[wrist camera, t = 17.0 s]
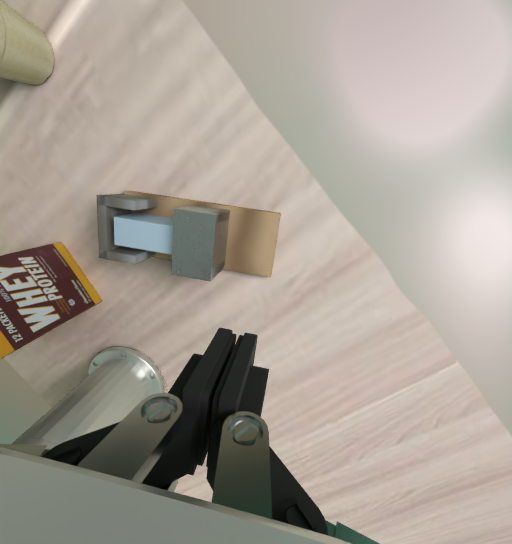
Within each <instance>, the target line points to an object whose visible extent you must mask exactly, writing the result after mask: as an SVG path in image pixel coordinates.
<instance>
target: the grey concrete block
mask: <svg viewBox="0 0 512 544" xmlns="http://www.w3.org/2000/svg"><path fill="white" fill-rule="evenodd" d="M229 216H230V210H225V209H218V208H211V207H205V206H198V205H191V206H185V207H180V208H174V219H173V245H172V270H171V274H172V275H178V276H183V277H189V278H194V279H200V280H206V281H211V280H212V279H213V278H214V277H215V276H216V275H217V274H218V273H219V272H220V271H221V270H222V269H223V268H224V266H225V256H226V246H227V236H228V226H229Z"/></svg>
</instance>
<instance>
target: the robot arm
mask: <svg viewBox="0 0 512 544" xmlns="http://www.w3.org/2000/svg"><path fill="white" fill-rule="evenodd" d="M235 342H236V334H232V330H229V329H224V328H219V329H218V331H217V333H216V334H215V336H214V338H213V339H212V341H211V343H210V345H209V346H208V348H207V350H206V351H205V353H204V355H199V354H193V356H192V357H191V358H190V360H189V361H188V363H187V365H186V366H185V368H184V369H183V371H182V372H181V374H180V375H179V377H178V378H177V380H176V381H175V383H174V384H173V386H172V388H171V389H170V391H169V392H168V393H163V389H164V386H163V380H162V377H161V375H160V373H159V371H158V369H157V368H156V366H155V365H154V364H153V363H152V362H151V361H150V360H149V359H148V358H147V357H146V356H144V355H143V354H141V353H140V352H137V351H135V350H133V349H130V348H126V347H111V348H108V349H105V350H103V351H102V352H100V353H99V354H98V355H97V356H95V357H94V358H93V360H92V361H91V363H90V366H89V370H88V377H87V378H85V379H84V380H83V381H82V382H81V383H80V384H79V385H77V386H76V387H75V388H74V389H73V390H72V391H71V392H70V393H68V394H67V395H66V396H65V397H64V398H63V399H62V400H61V401H59V402H58V403H57V404H56V405H55V406H54V407H53V408H52V409H51V410H49V411H48V412H47V413H46V414H45V415H44V416H43V417H41V418H40V419H39V420H38V421H37V422H36V423H35V424H34V425H32V426H31V427H30V428H29V429H28V430H27V431H26V432H24V433H23V434H22V435H21V436H20V437H19V438H18V439H16V441H14V442H13V443H12V444H0V544H379V543H378V542H376V541H374V540H372V539H370V538H368V537H366V536H364V535H362V534H360V533H359V532H357V531H355V530H353V529H351V528H349V527H347V526H345V525H343V524H341V523H339V522H338V521H337V523H336V525H334V524H332V523H330V522H328V521H326V520H325V519H324V516H323V515H322V513H321V512H320V510H319V508H318V507H317V506H316V504H315V503H314V502H313V501H312V499H311V498H310V497H309V496H308V494H307V493H306V492H305V491H304V489H303V488H302V487H301V486H300V484H299V483H298V482H297V480H296V479H295V478H294V477H293V475H292V474H291V473H290V472H289V470H288V469H287V468H286V467H285V465H284V464H283V463H282V461H281V460H280V459H279V458H278V456H277V455H276V454H275V453H274V451H273V450H272V449H271V448H270V446H269V431H268V426H267V424H266V423H265V421H264V420H263V419H262V418H261V412H262V407H263V401H264V396H265V390H266V384H267V378H268V372H269V369H266V368H261V367H256V366H253V363H254V357H255V350H256V343H257V335H255V334H249V333H245V334H244V336H242V335H239V337H238V340H237V342H236V345H235ZM207 452H208V455H207ZM206 455H207V465H206V466H207V467H208V470H207V480H208V482H209V484H210V486H211V488H212V490H213V496H212V503H211V502H208V501H204V500H201V499H197V498H193V497H189V496H186V495H182V494H178V493H175V492H174V490H175V488H176V486H177V483H178V479H179V478H181V477H183V476H184V475H186V474H190V475H193V474H194V472H195V469H196V467H197V465H201V466H202V465H203V463H204V460H205V457H206Z"/></svg>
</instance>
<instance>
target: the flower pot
mask: <svg viewBox="0 0 512 544" xmlns="http://www.w3.org/2000/svg"><path fill="white" fill-rule="evenodd" d="M53 67H54V54H53V50H52V46H51V44H50V42H49V41H48V39H47V38H46V36H45V35H44V33H43V32H42V31H41V30H40V29H39V28H38V27H37V26H35V25H34V24H33V23H31V22H30V21H29V20H27V19H26V18H25V17H23V16H22V15H21V14H20V13H18V12H17V11H16V10H14V9H13V8H12V7H11V6H9V5H8V4H7V3H6V2H4V1H3V0H0V78H3V79H8V80H13V81H18V82H23V83H27V84H31V85H39V84H42V83H44V81H45V80H46V78H47V77H49V76H50V75H51V74H52V71H53Z"/></svg>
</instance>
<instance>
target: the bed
mask: <svg viewBox="0 0 512 544" xmlns="http://www.w3.org/2000/svg"><path fill="white" fill-rule="evenodd" d="M191 205H198V206H205V207H211V208H218V209H225V210H230V216H229V226H228V236H227V246H226V256H225V266H224V268H223V269H226V270H232V271H237V272H243V273H249V274H255V275H260V276H266V277H271V274H272V268H273V261H274V255H275V248H276V242H277V235H278V229H279V222H280V216H281V213H276V212H270V211H263V210H256V209H249V208H243V207H236V206H229V205H222V204H216V203H209V202H202V201H195V200H189V199H182V198H175V197H168V196H162V195H155V194H148V193H141V192H135V191H124V194H115V195H97V213H98V236H99V258H103V259H108V260H114V261H120V262H125V263H131V264H137V263H139V262H141V261H143V260H145V259H147V258H150V257H157V258H163V259H168V260H172V255H171V254H166V253H160V252H154V251H148V250H143V249H137V248H131V247H125V246H119V245H115V243H114V217H116V216H122V215H128V214H134V213H143V214H149V215H155V216H162V217H168V218H174V208H180V207H185V206H191Z"/></svg>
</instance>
